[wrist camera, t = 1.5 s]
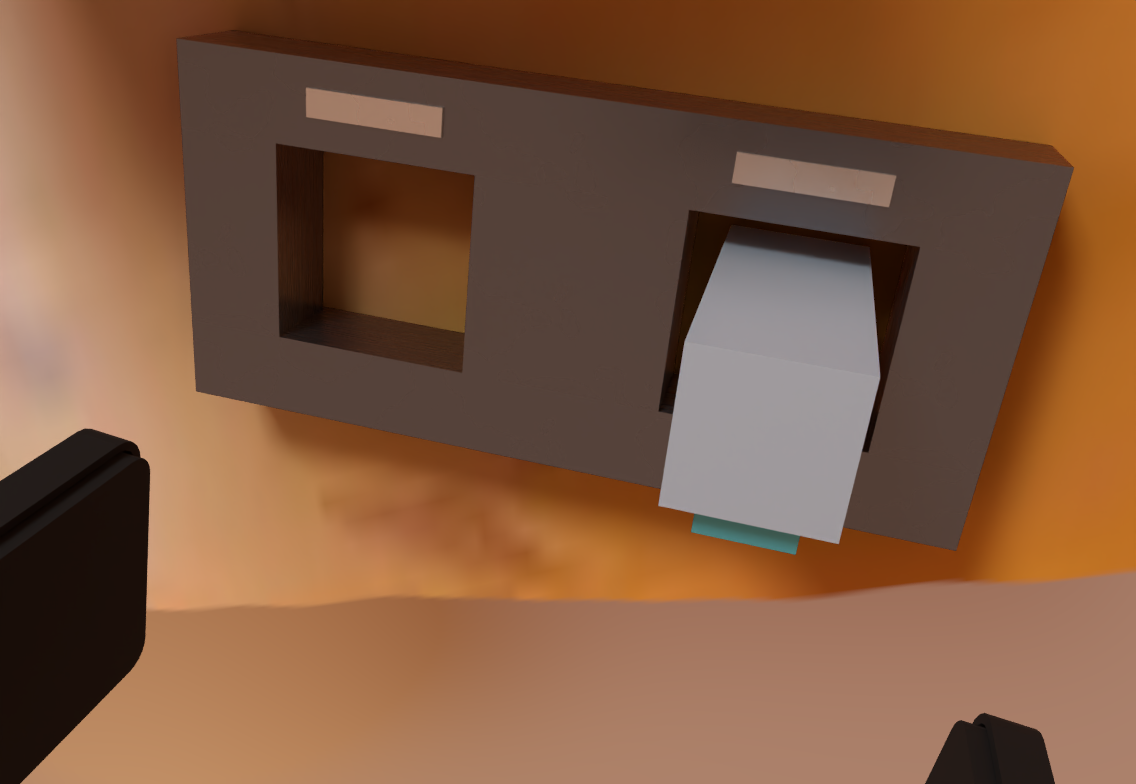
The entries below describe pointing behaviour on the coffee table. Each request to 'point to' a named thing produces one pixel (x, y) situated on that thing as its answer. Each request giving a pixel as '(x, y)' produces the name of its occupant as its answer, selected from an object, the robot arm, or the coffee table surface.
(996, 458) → the coffee table surface
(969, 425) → the panel
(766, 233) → the plug
